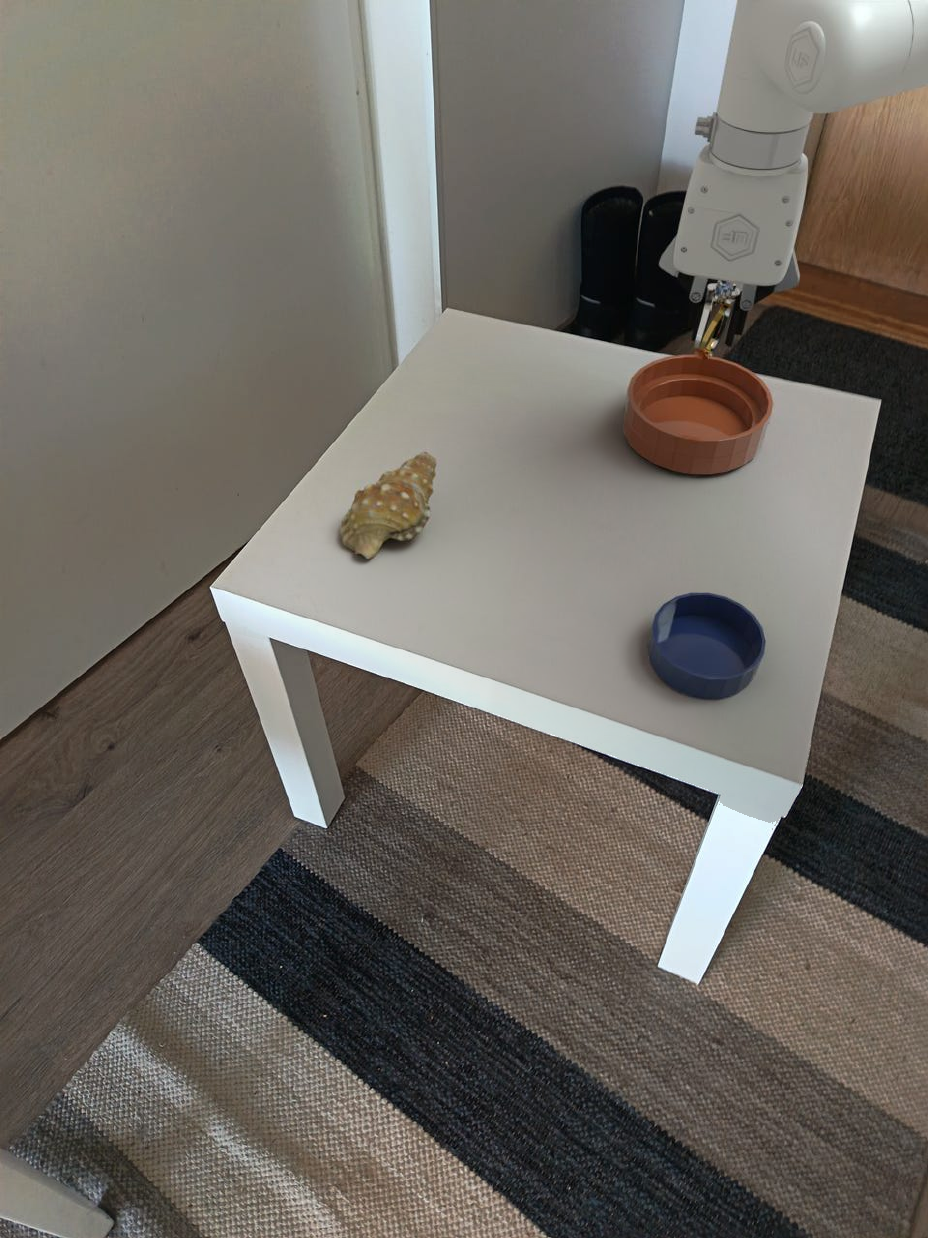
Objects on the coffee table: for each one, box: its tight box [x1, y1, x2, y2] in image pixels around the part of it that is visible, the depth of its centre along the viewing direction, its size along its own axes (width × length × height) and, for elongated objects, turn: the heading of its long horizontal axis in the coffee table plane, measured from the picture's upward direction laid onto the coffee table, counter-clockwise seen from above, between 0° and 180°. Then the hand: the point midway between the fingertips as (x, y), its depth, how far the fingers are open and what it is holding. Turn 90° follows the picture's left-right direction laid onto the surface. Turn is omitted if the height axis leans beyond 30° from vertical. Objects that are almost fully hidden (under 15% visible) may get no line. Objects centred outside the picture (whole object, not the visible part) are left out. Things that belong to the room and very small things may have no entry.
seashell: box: [339, 451, 437, 560], centre depth 85 cm, size 9×8×10 cm
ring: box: [693, 280, 741, 361], centre depth 84 cm, size 7×3×8 cm, turn 144°
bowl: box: [622, 354, 774, 475], centre depth 93 cm, size 15×15×5 cm
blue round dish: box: [647, 592, 767, 701], centre depth 74 cm, size 9×9×3 cm
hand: (713, 334), depth 85 cm, fingers closed on ring, 2 cm apart
